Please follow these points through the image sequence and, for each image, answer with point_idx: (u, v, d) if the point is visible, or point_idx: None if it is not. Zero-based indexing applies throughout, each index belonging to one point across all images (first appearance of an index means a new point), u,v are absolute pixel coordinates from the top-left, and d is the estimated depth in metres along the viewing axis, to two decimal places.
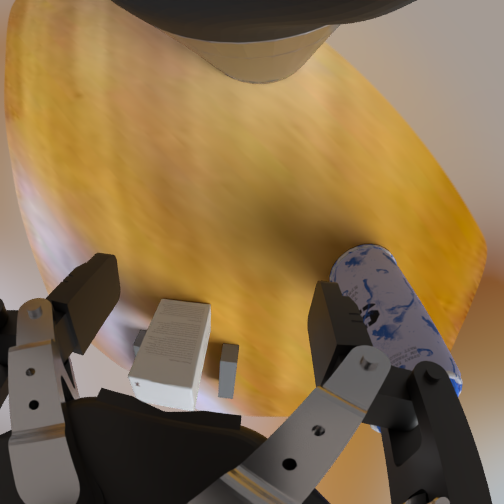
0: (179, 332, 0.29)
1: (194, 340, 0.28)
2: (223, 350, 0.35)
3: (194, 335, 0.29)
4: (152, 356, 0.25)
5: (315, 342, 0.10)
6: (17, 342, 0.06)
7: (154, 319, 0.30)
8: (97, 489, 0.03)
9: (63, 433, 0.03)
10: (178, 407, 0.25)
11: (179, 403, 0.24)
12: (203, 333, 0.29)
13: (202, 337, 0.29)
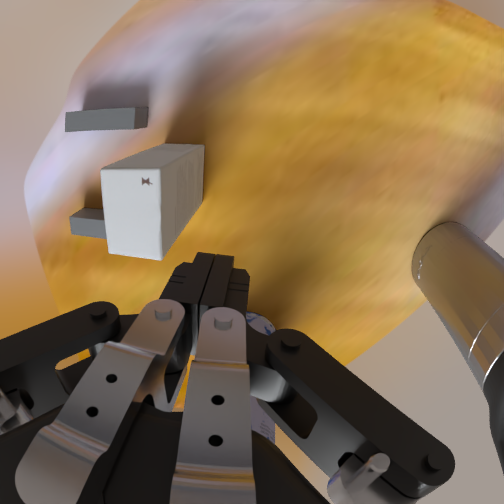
0: (189, 195, 0.23)
1: (186, 218, 0.23)
2: None
3: (188, 213, 0.24)
4: (175, 184, 0.19)
5: None
6: (125, 337, 0.07)
7: (194, 153, 0.23)
8: (97, 489, 0.03)
9: (63, 433, 0.03)
10: (110, 234, 0.18)
11: (122, 237, 0.18)
12: None
13: (187, 222, 0.24)
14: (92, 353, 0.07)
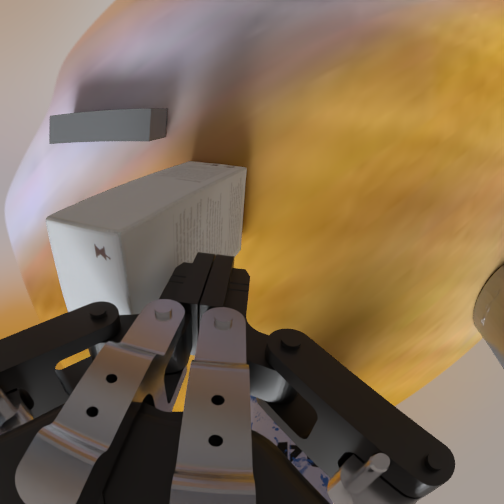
0: (210, 250, 0.15)
1: None
2: None
3: None
4: (170, 246, 0.11)
5: None
6: (125, 336, 0.07)
7: (223, 184, 0.15)
8: (97, 489, 0.03)
9: (63, 433, 0.03)
10: None
11: None
12: None
13: None
14: (92, 353, 0.07)
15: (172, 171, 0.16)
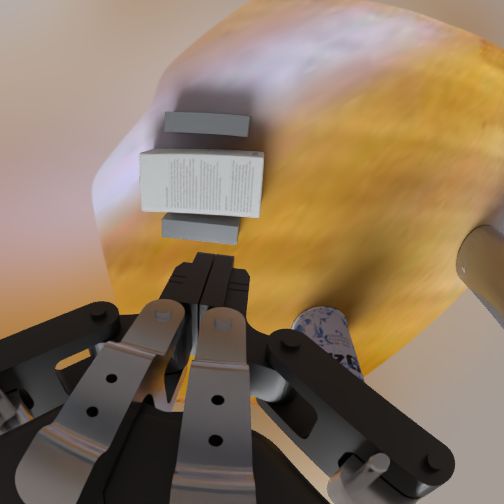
0: (204, 190, 0.27)
1: (196, 207, 0.28)
2: (239, 222, 0.32)
3: (203, 206, 0.28)
4: (166, 170, 0.27)
5: None
6: (125, 337, 0.07)
7: (220, 157, 0.26)
8: (97, 489, 0.03)
9: (63, 433, 0.03)
10: None
11: None
12: (209, 213, 0.28)
13: (203, 213, 0.28)
14: (92, 353, 0.07)
15: (226, 150, 0.29)
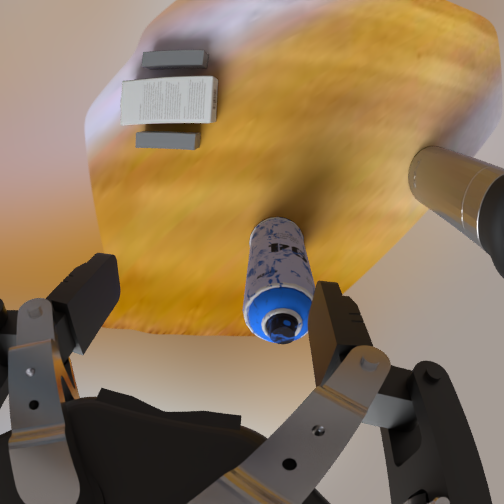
0: (168, 104, 0.31)
1: (162, 117, 0.32)
2: (198, 134, 0.36)
3: (166, 116, 0.32)
4: (141, 91, 0.31)
5: (315, 342, 0.10)
6: (17, 342, 0.06)
7: (180, 78, 0.30)
8: (97, 489, 0.03)
9: (63, 433, 0.03)
10: None
11: None
12: (171, 122, 0.33)
13: (167, 122, 0.33)
14: None
15: None
